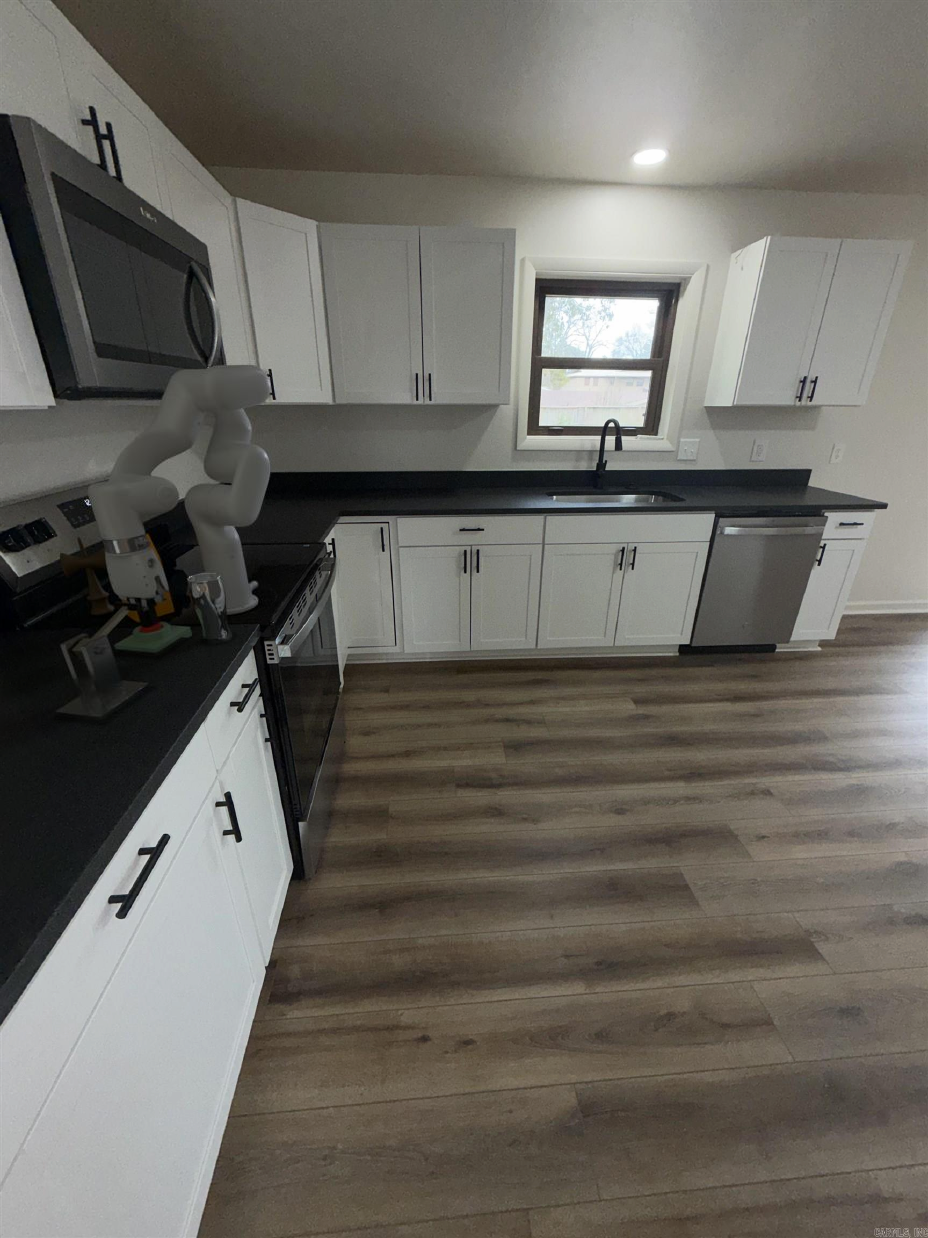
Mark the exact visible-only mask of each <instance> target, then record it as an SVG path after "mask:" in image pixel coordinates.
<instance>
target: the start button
mask: <svg viewBox="0 0 928 1238" xmlns="http://www.w3.org/2000/svg"><path fill="white" fill-rule="evenodd" d="M160 622H161V621H159V622H158V623H157V624H155V625H153V626H151V627H150V628H147V627H142V626H141V625H139V626H140V629H141V633H150V632H155V631H158V630H160V629H162V626H161V623H160Z"/></svg>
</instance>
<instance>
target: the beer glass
mask: <svg viewBox="0 0 928 1238" xmlns="http://www.w3.org/2000/svg"><path fill="white" fill-rule="evenodd" d="M186 579H187V580H186V581H187V587H188V593H189V597H190V601H191V605H192V607H193V610H194V611H195V614H196V616H197V618H198V620H199V623H200V625H201V630H202V640H208V641H209V640H210V641H220V642H228V641H230V640H232V638H233V633H232V630H231V628H230V626H229V622H228V615H227V602H226V594H225V589H224V586H223V582H222V579H221V575H220V574H219V573H216V572H205V571H204V572H199V573H195V574H193V575H190V576H189V577H187V578H186Z"/></svg>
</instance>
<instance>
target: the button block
mask: <svg viewBox="0 0 928 1238" xmlns="http://www.w3.org/2000/svg"><path fill="white" fill-rule="evenodd" d="M159 622H160V623H161V626H162V629H160V630H158V631H155V632H150V633H141V629H140V626H141V625H139V626H137V627H135V628H134V629H133V631H132V634H131V635H129V636H128V637H125V638H124V639H122V640H121V641H119V642H117V643H115V644H114V645H113V646H114V649H115V650H123V651H133V652H145V653H152V654H153V653H154V654H157V653H158V652H160V651H161V650H164V649H165V648H167V647H168V646H169V645H171V644H172V643H174V642H176V641H178V640H179V639H180V638H186V639H189V638H190V637H192V636H193V632H192V629H191V626H185V625H171V624H169V623H168V622H167V621H159Z"/></svg>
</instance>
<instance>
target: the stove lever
mask: <svg viewBox="0 0 928 1238" xmlns="http://www.w3.org/2000/svg"><path fill="white" fill-rule="evenodd" d="M113 607H114V610H117V612H116V613H115V614H113V616H112V617H110V619H109V620H108V621H107V622H105V624H104V625H102V627H100V629H99V630H98V631H97V632H96V633H95V634H94V635H93V636H92V637H90V638H89V639H86V638H83V639H82V640H81V641H80V642H79V643H78V644H77V645H76V646H75V647H74V648H73V649H72V651H73V652H74V653H75V654H76V655H77V656H78V657H79V659H83V660H85V658H84V655H83V653H82V650H81V646H82V645H84V644H86V643H88V642H90V641H92V640H94V639H96V638H98V637H100V636H102V635H105V636H108V635H109V634H110V633H111V631H112V630H113V629H114V628H115V627H116V626H117V625H118V624H119V623H120V622H121V621H122V620H123V619H124V618H125V617H126V616H127V615H126V614H127V613H128V612H129V611H141V610H142V609H143V606H142V604H137V603H125V602H122V601H115V602H113Z"/></svg>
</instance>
